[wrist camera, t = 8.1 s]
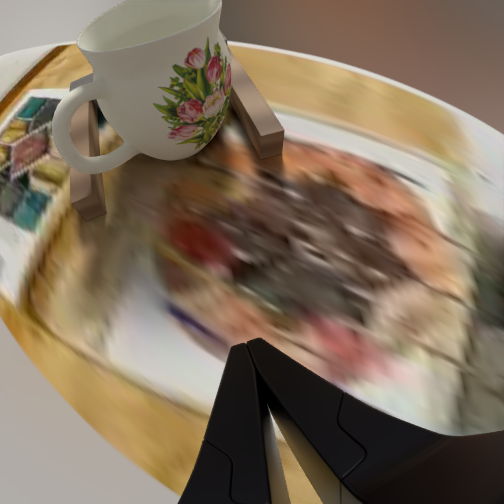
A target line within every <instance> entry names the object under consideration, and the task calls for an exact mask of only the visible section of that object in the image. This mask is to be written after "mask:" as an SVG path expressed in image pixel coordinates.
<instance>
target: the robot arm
mask: <svg viewBox="0 0 504 504" xmlns="http://www.w3.org/2000/svg"><path fill="white" fill-rule="evenodd" d="M268 407H269V408H268ZM269 410H270V411H269ZM270 412H271V414H272V416H273V418H274V420H275V422H276V424H277V426H278V427H279V429H280V431H281V433H282V435H283V436H284V438H285V440H286V442H287V443H288V445H289V447H290V449H291V450H292V452H293V454H294V456H295V457H296V459H297V461H298V462H299V464H300V466H301V468H302V469H303V471H304V473H305V474H306V476H307V478H308V479H309V481H310V483H311V484H312V486H313V488H314V489H315V491H316V493H317V494H318V496H319V497H320V499H321V501H322V502H323V504H504V430H503V431H497V432H490V433H484V434H476V435H468V436H450V435H444V434H439V433H436V432H433V431H430V430H427V429H424V428H422V427H419V426H416V425H414V424H411V423H408V422H406V421H403V420H401V419H398V418H396V417H393V416H391V415H388V414H386V413H384V412H381V411H379V410H377V409H375V408H373V407H371V406H369V405H367V404H365V403H363V402H361V401H360V400H358V399H356V398H354V397H353V396H351V395H349V394H348V393H346V392H345V393H344V391H343V390H341V389H339V388H338V387H336V386H334V385H333V384H331V383H330V382H328V381H326V380H325V379H323V378H322V377H320V376H318V375H317V374H315V373H314V372H312V371H311V370H309V369H307V368H306V367H304V366H303V365H301V364H300V363H298V362H297V361H295V360H293V359H292V358H290V357H289V356H287V355H286V354H284V353H283V352H281V351H280V350H278V349H277V348H275V347H274V346H272V345H271V344H269V343H268V342H266V341H265V340H263V339H262V338H256V339H253V340H250V341H247V343H240V344H237V345H234V346H232V347H231V348H230V351H229V355H228V358H227V361H226V365H225V368H224V372H223V375H222V378H221V382H220V385H219V388H218V392H217V395H216V398H215V402H214V405H213V409H212V412H211V415H210V419H209V422H208V425H207V429H206V432H205V435H204V440H203V441H202V445H201V448H200V451H199V454H198V457H197V460H196V463H195V466H194V469H193V471H192V474H191V476H190V478H189V480H188V483H187V485H186V487H185V489H184V491H183V493H182V496H181V498H180V500H179V502H178V504H291V503H290V498H289V494H288V490H287V485H286V481H285V476H284V472H283V468H282V463H281V459H280V454H279V450H278V445H277V441H276V436H275V432H274V427H273V423H272V418H271V414H270Z"/></svg>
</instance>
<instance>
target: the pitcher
mask: <svg viewBox="0 0 504 504" xmlns="http://www.w3.org/2000/svg"><path fill="white" fill-rule="evenodd" d="M221 8H222V0H127V1H125V2H123V3H121V4H119V5H117V6H115V7H113V8H111V9H110V10H108V11H106V12H104V13H103V14H101V15H100V16H98V17H97V18H95V19H94V20H93V21H92V22H90V23H89V24H88V25H87V26H86V27H85V28H84V29H83V30H82V32H81V33H80V34H79V36H78V39H77V46H78V48H79V49H80V51H81V52H82V54H83V55H84V56H85V58H86V59H87V60H88V62H89V63H90V64H91V66H92V67H93V82H91V83H88V84H85V85H82V86H79V87H77V88H75V89H74V90H72V91H71V92H69V93H68V94H67V95H66V96H65V97H64V98H63V99H62V100H61V102H60V103H59V104H58V106H57V109H56V111H55V113H54V117H53V121H52V134H53V139H54V143H55V145H56V148H57V150H58V152H59V153H60V155H61V156H62V158H63V159H64V160H65V161H66V162H67V163H68V164H69V165H70V166H71V167H72V168H74V169H75V170H77V171H79V172H81V173H85V174H99V173H104V172H107V171H110V170H112V169H114V168H116V167H118V166H120V165H122V164H123V163H125V162H126V161H128V160H129V159H131V158H132V157H133V156H135V155H137V154H139V153H144V154H146V155H148V156H151V157H154V158H157V159H161V160H168V161H173V160H180V159H184V158H187V157H190V156H192V155H194V154H196V153H197V152H199V151H200V150H201V149H203V148H204V147H205V146H206V145H207V143H208V142H209V141H210V140H211V139H212V138H213V137H214V136H215V134H216V133H217V131H218V130H219V128H220V126H221V124H222V122H223V119H224V117H225V114H226V111H227V108H228V104H229V100H230V94H231V86H232V71H231V60H230V55H229V51H228V48H227V45H226V42H225V40H224V38H223V36H222V34H221V32H220V30H219V19H220V13H221ZM94 99H97V102H98V105H99V107H100V109H101V111H102V113H103V115H104V117H105V118H106V120H107V122H108V123H109V125H110V126H111V127H112V128H113V129H114V130H115V132H116V133H117V134H118V135H119V136H120V137H121V138H122V139H123V144H122V145H121V146H120V147H119V148H117V149H116V150H114V151H113V152H111V153H109V154H106V155H102V156H97V157H86V156H83V155H81V154H80V153H79V152H78V151H77V150H76V148H75V146H74V145H73V142H72V139H71V135H70V123H71V119H72V117H73V114H74V113H75V111H76V110H77V109H78V108H79V107H80V106H81V105H83V104H84V103H86V102H88V101H91V100H94Z"/></svg>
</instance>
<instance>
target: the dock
mask: <svg viewBox="0 0 504 504" xmlns="http://www.w3.org/2000/svg"><path fill="white" fill-rule="evenodd" d="M221 34H222V33H221ZM222 36H223V38H224V40H225V42H226V45H227V39H226V38H225V36H224V35H223V34H222ZM227 48H228V47H227ZM228 51H229V55H230V60H231V71H232V86H231V94H230V100H229V101H230V103H231V105H232V107H233V108H234V110H235V112H236V114H237V116H238V118H239V119H240V121H241V123H242V125H243V127H244V129H245V131H246V132H247V134H248V136H249V138H250V140H251V142H252V144H253V146H254V148H255V149H256V151H257V153H258V155H259V157H260V159H264V158H268V157H271V156H275V155H278V154H282V148H283V139H284V129H283V127H282V125H281V124H280V122H279V121H278V119H277V118H276V116H275V115H274V113H273V111H272V110H271V108H270V107H269V105H268V104H267V102H266V101H265V99H264V98H263V96H262V95H261V93H260V92H259V90H258V89H257V87H256V86H255V85H254V83H253V82H252V80H251V79H250V77H249V76H248V74H247V73H246V72H245V70H244V69H243V67H242V66H241V65H240V63H239V62H238V60H237V59H236V58H235V56H234V55H233V53H232V52H231V51H230V49H229V48H228ZM91 82H93V73H92V74H89V75H87V76H85V77H83V78H80V79H78V80H76V81H74V82H72V83H71V84H70V92H71V91H72V90H74V89H75V88H77V87H79V86H82V85H85V84H88V83H91ZM98 109H100V107H99V105H98V102H97V99H94V100H91V101H88V102H86V103H84V104H83V105H81V106H80V107H79V108H78V109H77V110H76V111H75V113H74V114H73V117H72V119H71V133H70V135H71V139H72V142H73V145H74V146H75V148H76V150H77V151H78V152H79V153H80V154H81V155H83V156H86V157H97V156H100V148H99V132H98ZM70 195H71V204H72V205H73V207H74V208H75V209H76V210H77V211H78V212H79V213H80V214H81V215H82V216H83V217H84V219H85V220H86V221H88V220H90V219H93V218H95V217H98V216H100V215H102V214H105V213H106V205H105V198H104V190H103V181H102V173H99V174H85V173H81V172H79V171H77V170H75V169H74V168H72V167H71V166H70Z"/></svg>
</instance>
